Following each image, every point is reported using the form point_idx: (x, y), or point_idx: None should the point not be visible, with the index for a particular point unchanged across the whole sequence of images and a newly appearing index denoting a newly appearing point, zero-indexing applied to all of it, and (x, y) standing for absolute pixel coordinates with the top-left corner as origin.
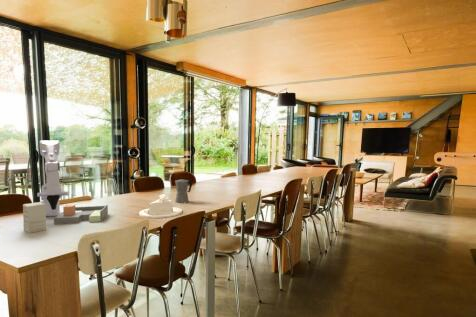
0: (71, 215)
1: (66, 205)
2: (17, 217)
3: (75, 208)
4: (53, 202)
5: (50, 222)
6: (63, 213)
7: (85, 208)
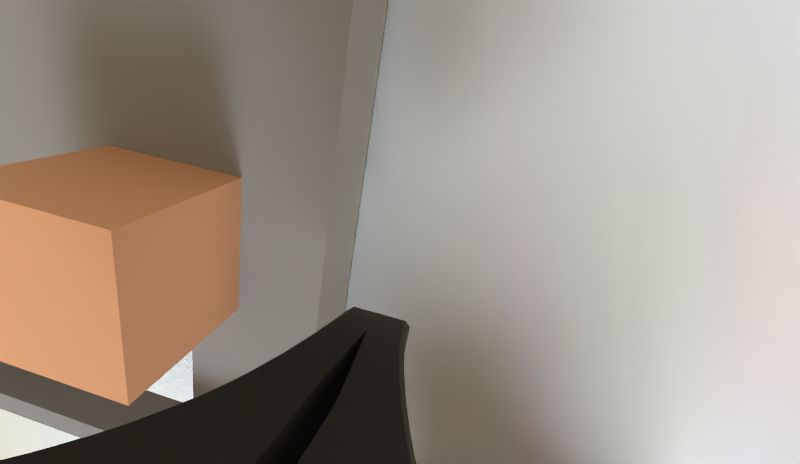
0: (110, 94)
1: (105, 366)
2: None
3: (130, 421)
4: (263, 416)
5: (457, 139)
6: (221, 186)
7: (18, 374)
